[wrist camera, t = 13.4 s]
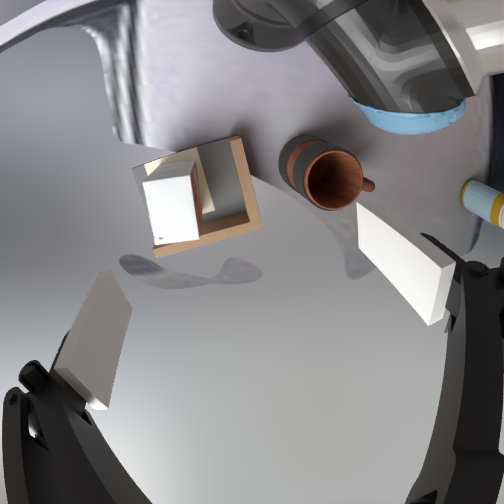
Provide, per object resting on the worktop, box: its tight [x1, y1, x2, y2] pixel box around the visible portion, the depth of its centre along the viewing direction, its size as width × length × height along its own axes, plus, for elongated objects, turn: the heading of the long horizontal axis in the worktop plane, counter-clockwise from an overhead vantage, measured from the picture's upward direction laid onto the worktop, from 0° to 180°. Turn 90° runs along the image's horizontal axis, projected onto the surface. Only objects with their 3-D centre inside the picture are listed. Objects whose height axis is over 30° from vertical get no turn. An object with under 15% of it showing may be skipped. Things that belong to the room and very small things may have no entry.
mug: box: [279, 136, 375, 211], centre depth 36 cm, size 9×12×12 cm
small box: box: [142, 160, 202, 245], centre depth 35 cm, size 8×6×10 cm
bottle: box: [461, 180, 504, 229], centre depth 41 cm, size 7×7×15 cm
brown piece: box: [132, 135, 263, 258], centre depth 38 cm, size 13×16×5 cm
